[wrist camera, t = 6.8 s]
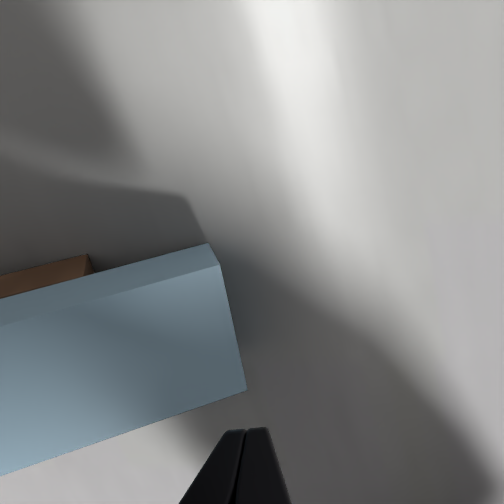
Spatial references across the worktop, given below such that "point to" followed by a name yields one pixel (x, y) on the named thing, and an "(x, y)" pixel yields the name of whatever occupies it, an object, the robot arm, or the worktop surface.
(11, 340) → the domino
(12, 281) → the domino
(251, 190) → the worktop surface
